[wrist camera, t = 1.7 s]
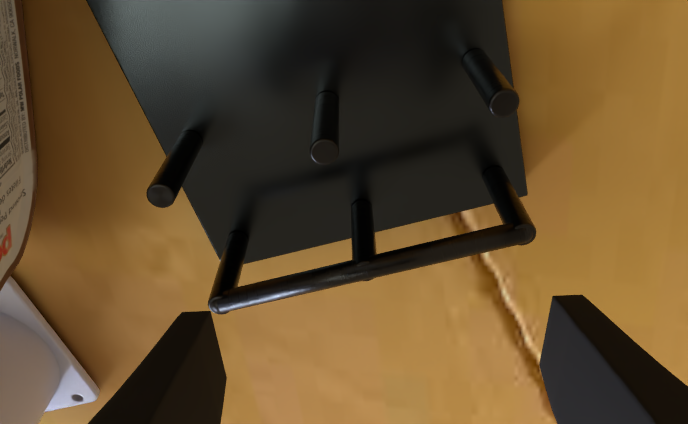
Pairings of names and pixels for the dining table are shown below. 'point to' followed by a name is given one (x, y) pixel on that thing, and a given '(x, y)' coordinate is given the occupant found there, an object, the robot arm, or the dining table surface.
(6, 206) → the tin
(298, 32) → the rack
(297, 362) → the dining table surface
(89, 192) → the dining table surface
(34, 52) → the dining table surface
